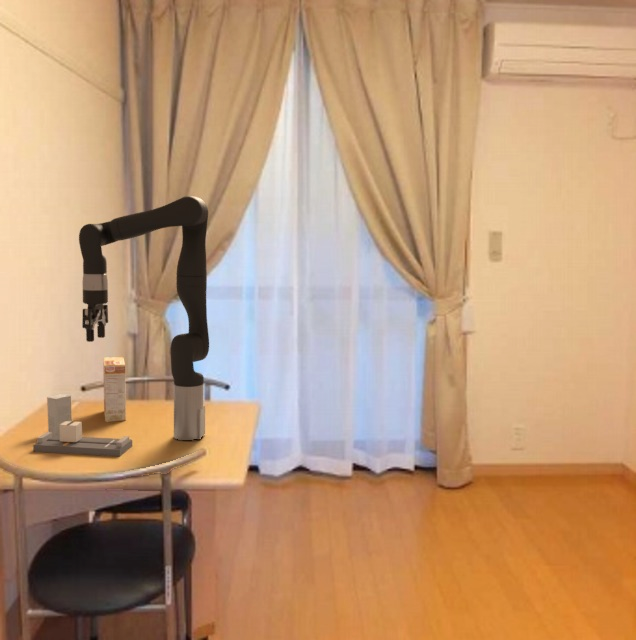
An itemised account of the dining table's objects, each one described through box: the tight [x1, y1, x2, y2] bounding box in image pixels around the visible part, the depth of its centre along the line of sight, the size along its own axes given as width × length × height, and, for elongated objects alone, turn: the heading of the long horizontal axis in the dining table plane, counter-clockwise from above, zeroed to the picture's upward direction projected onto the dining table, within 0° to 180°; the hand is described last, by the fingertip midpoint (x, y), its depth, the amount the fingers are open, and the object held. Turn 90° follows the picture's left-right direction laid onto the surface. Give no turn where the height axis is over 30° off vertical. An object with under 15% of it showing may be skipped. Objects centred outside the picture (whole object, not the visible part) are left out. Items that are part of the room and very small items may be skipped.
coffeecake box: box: [103, 356, 127, 423], centre depth 245 cm, size 15×7×20 cm, turn 18°
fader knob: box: [59, 420, 83, 442], centre depth 209 cm, size 5×4×5 cm
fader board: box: [32, 431, 133, 457], centre depth 209 cm, size 26×10×4 cm, turn 85°
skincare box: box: [46, 393, 73, 436], centre depth 224 cm, size 6×4×12 cm
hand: (95, 339), depth 222 cm, fingers open, 8 cm apart
